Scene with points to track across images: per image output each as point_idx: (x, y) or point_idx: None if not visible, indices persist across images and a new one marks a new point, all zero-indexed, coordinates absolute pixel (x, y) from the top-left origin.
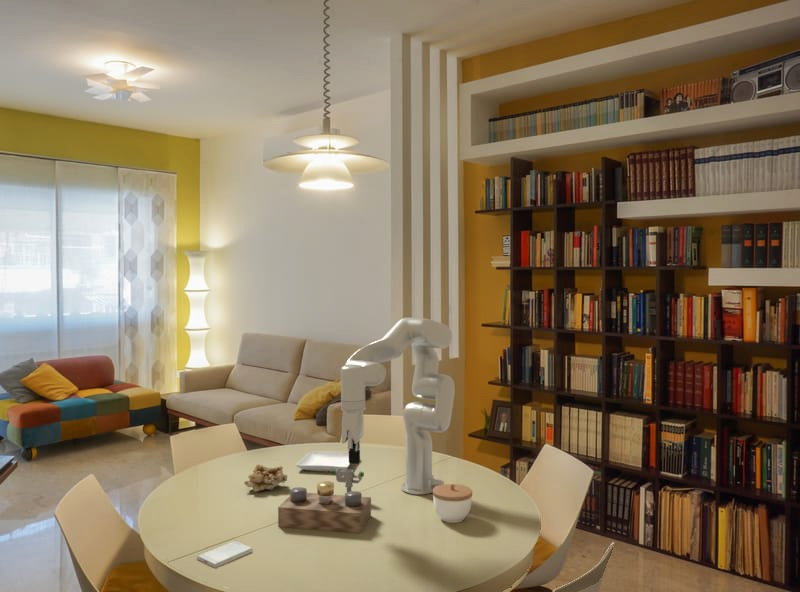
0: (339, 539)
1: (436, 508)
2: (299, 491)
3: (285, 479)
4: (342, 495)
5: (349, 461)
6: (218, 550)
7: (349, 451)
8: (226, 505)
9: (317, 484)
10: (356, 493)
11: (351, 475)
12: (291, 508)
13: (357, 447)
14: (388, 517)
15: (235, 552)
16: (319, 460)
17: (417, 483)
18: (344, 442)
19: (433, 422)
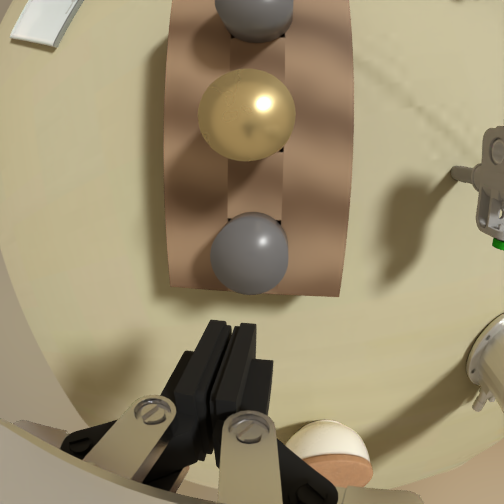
0: (139, 215)
1: (300, 438)
2: (236, 6)
3: None
4: (349, 177)
5: (207, 330)
6: (46, 1)
7: (176, 394)
8: None
9: (228, 73)
10: (259, 272)
11: (496, 197)
12: (169, 28)
13: (168, 482)
14: (321, 319)
15: (37, 33)
16: None
17: (487, 367)
18: (17, 437)
19: None
